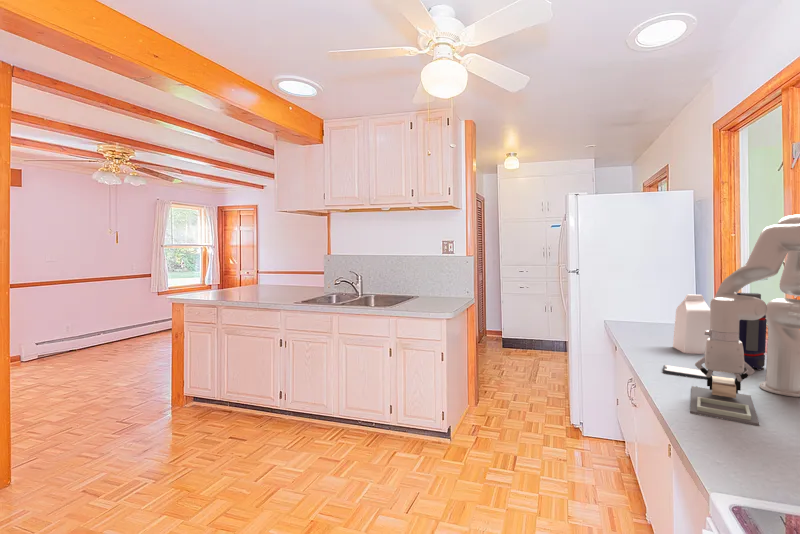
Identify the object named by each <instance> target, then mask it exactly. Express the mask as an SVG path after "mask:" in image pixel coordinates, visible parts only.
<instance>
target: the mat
mask: <svg viewBox="0 0 800 534" xmlns="http://www.w3.org/2000/svg"><path fill="white" fill-rule="evenodd" d="M697 397H703V398H709V399H715V400H721V401H726V402H732V403H738V404H744V405H748V406H749V410H750V413H751V420H747V419H742V418H737V417H731V416H726V415H720V414H715V413H709V412H704V411H698V410H697ZM700 406H703V407H708V408H714V409H720V410H725V411H731V412H736V413H742V414H746V412H745V409H740V408H734V407H729V406H723V405H717V404H711V403H706V402H701V404H700ZM756 411H757V410H756V408H755V405H754V401H753V399H752V395H750V394H744V393H738V394H736V398H732V397H725V396H719V395H712V390H710V388H706V387H698V386H693V385H692V386H691V394H690V408H689V412H690V414H695V415H699V414H701V415H700V416H704V415H706V417H710V416H712V417H711V418H715V417H718V418H717V419H720V418H723V419H722V420H726V419H728V420H727V421H731V420H732V422H736V421H737V422H738V423H742V424H746V425H747V424H748V425H753V426H758V427H759V426H760V421H759V418H758V415H757V412H756Z"/></svg>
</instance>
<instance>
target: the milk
mask: <svg viewBox="0 0 800 534" xmlns="http://www.w3.org/2000/svg"><path fill="white" fill-rule="evenodd" d="M674 319H675V320H674V330H673V341H672V348H673V349H675V350H678V351H679V352H682V353H683V354H696V355H697V354H701V355H705V348H706V342H707V339H708V338H710V337H709V336H707V335H705V331H709V330H710V307H709V305H708V303H706V300H705V299H704V296H703V294H686V296H685V298H684V300H683V301H682V302H681V303H679V304H678V306H677V307H676V309H675V318H674Z"/></svg>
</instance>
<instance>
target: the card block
mask: <svg viewBox="0 0 800 534" xmlns="http://www.w3.org/2000/svg"><path fill="white" fill-rule="evenodd" d="M735 379H736V378H732V377H724V376H715V375H713V376H712V395H719V396H725V397H732V398H736V384H735Z"/></svg>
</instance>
